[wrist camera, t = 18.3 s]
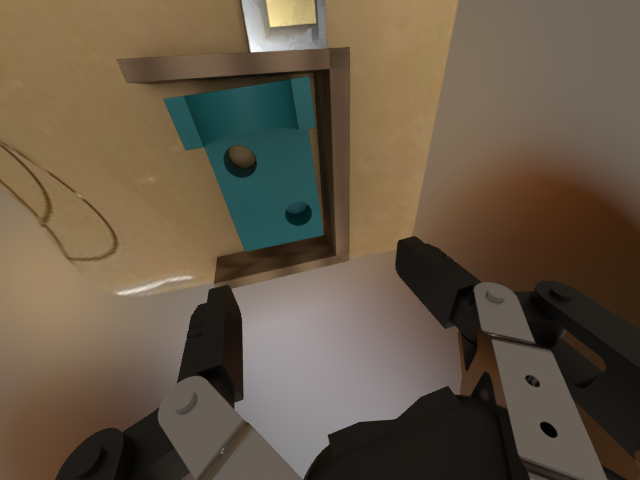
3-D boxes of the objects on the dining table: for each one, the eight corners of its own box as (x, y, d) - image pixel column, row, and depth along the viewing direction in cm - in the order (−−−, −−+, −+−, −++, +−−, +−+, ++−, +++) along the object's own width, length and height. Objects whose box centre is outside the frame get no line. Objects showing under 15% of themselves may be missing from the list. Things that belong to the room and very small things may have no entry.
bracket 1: (220, 265, 37) (217, 291, 32) (142, 65, 23) (116, 59, 18) (336, 240, 40) (349, 260, 35) (329, 54, 26) (349, 47, 22)
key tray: (250, 59, 25) (251, 56, 22) (230, -49, 21) (229, -67, 18) (319, 55, 26) (327, 52, 24) (313, -46, 22) (322, -63, 20)
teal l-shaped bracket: (198, 94, 26) (163, 99, 17) (295, 79, 27) (309, 76, 18) (247, 232, 36) (241, 278, 27) (317, 218, 37) (332, 258, 28)
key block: (255, -20, 22) (258, -45, 18) (297, -22, 22) (310, -47, 18) (265, 37, 24) (270, 26, 20) (303, 33, 24) (316, 23, 20)
